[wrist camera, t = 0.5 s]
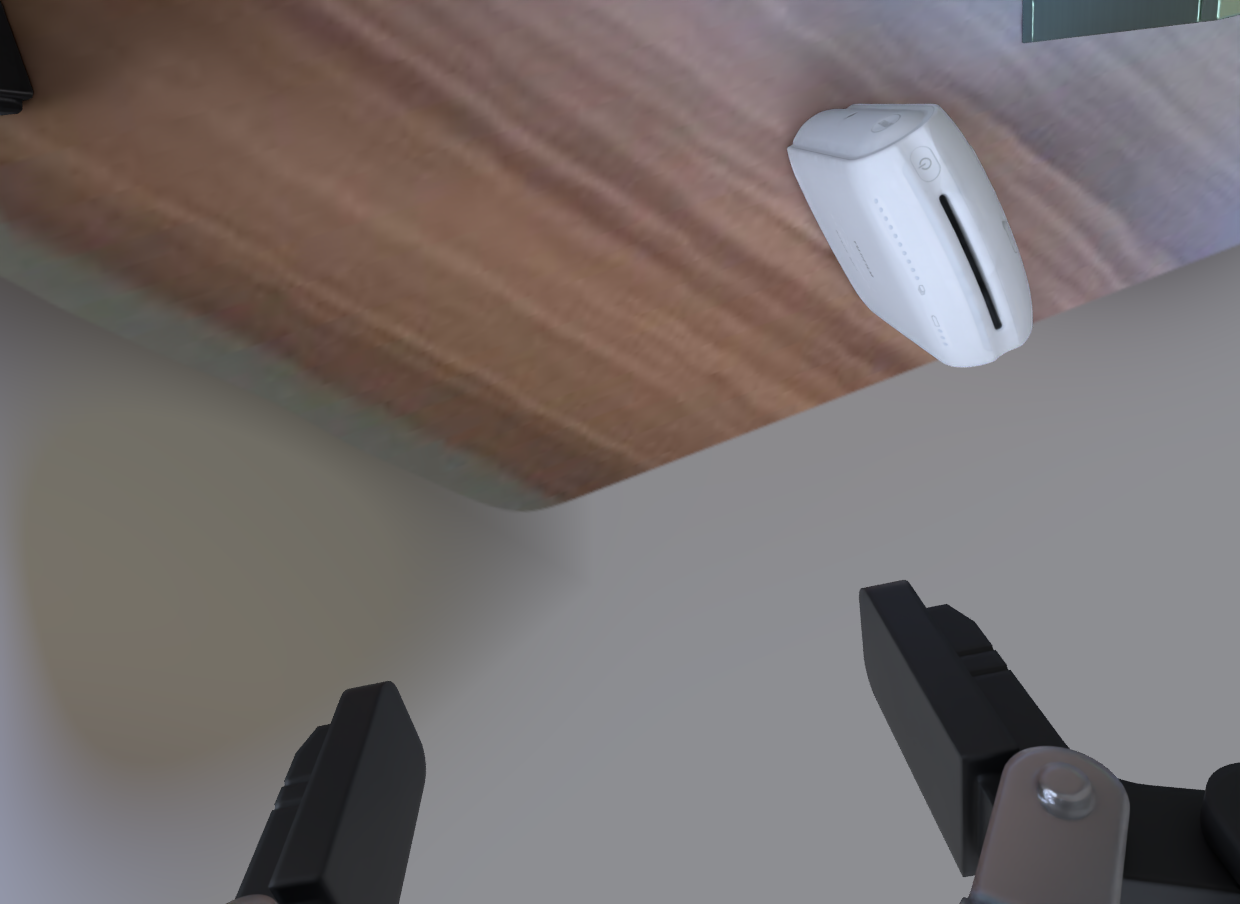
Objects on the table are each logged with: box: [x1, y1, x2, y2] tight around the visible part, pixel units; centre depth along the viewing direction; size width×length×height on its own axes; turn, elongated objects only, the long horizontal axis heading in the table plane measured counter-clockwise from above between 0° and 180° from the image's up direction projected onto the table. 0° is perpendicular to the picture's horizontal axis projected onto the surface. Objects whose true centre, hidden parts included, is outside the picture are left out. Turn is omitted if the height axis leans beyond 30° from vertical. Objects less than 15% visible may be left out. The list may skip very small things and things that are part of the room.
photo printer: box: [787, 104, 1033, 367], centre depth 32 cm, size 10×4×12 cm, turn 33°
